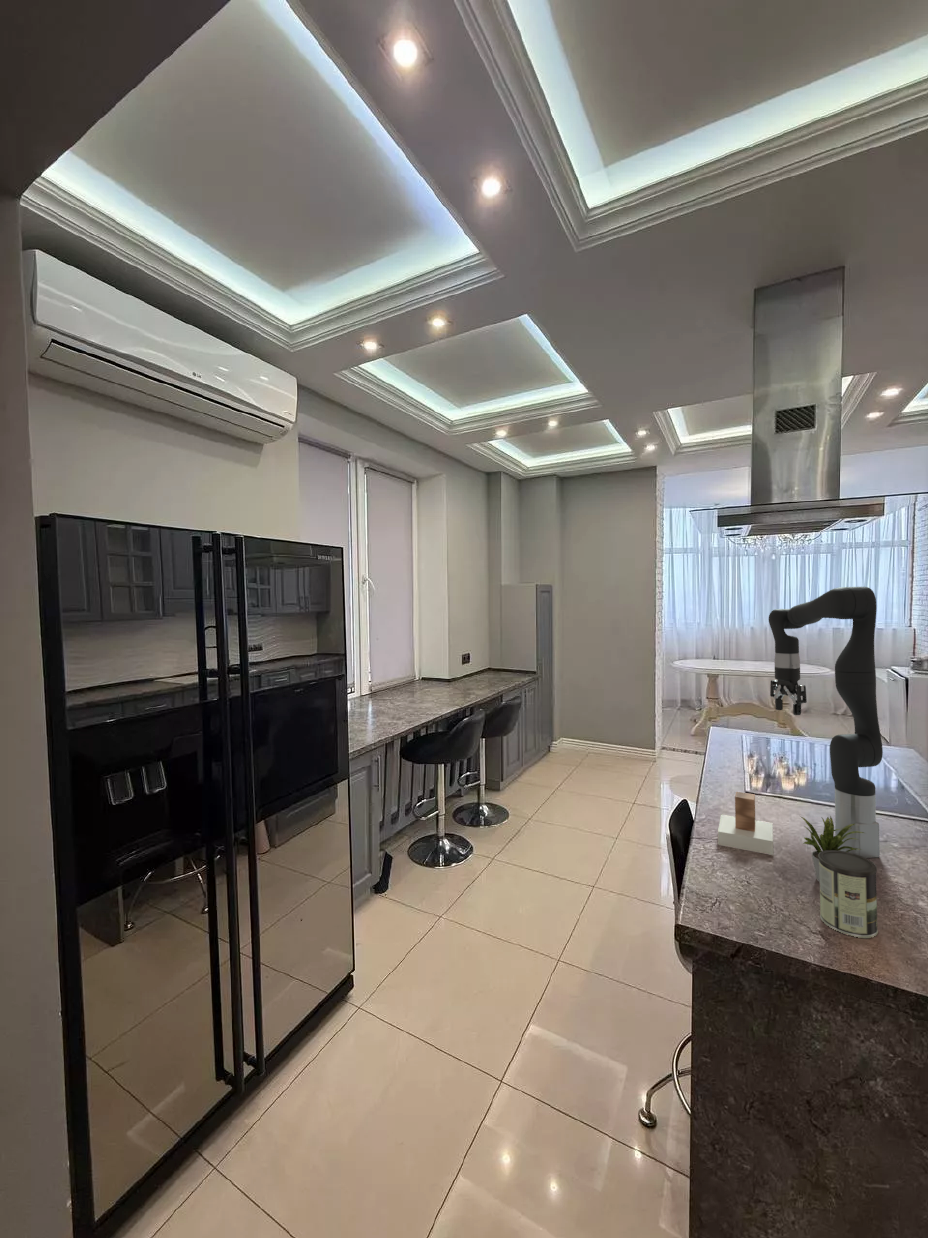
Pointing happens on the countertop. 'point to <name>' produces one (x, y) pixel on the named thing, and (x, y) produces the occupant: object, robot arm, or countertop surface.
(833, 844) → the house plant
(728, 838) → the cream base
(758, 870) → the countertop surface
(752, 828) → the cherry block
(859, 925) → the coffee can
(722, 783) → the countertop surface
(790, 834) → the countertop surface
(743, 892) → the countertop surface
